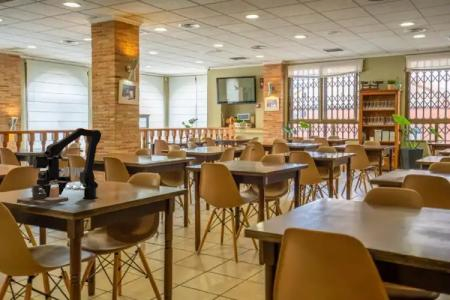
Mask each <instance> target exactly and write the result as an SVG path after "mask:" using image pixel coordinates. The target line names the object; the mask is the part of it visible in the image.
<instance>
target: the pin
mask: <svg viewBox="0 0 450 300" xmlns="http://www.w3.org/2000/svg"><path fill="white" fill-rule="evenodd" d="M30 190H31V193H32V188H31V189H30ZM41 193H43V194H46V193H45V190H44V189H42V188H40V189H39V194H41ZM49 197H51V198H55V197H60V195H59V187H58V186H57V187H51V189H50V196H49Z"/></svg>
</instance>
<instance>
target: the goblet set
mask: <svg viewBox="0 0 450 300" xmlns="http://www.w3.org/2000/svg"><path fill="white" fill-rule="evenodd" d="M59 169H61V171H59V176H69V174H70V175H71V177H72V180H73V185H70V187H71V188H76V187H77V188H86V187H83V185H82V184H81V182H80V181H79V185H80V186H76V185H75V177H76V175H77V177H78V178H79V177H80V172H83V171H84V169H85V166H84V167H83V166H81V167H79V166H77V167H76V166H71V167H69V166H64V167H59ZM56 186H57V187H59V185H58V184H57V185H56ZM65 187H69V185H68V184H66V186H65Z"/></svg>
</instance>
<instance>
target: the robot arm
mask: <svg viewBox="0 0 450 300" xmlns="http://www.w3.org/2000/svg"><path fill="white" fill-rule="evenodd" d="M82 136H83V137H86V142H87V151H86V158H85V163H84V171H83V172H80V177H79V176H78V179H79V183H80V182H81V186H83V187H82V188H84V187H86V188H84V191H83V197H82V199H85V200H93V199H98V198H99V196H97V189H98V187H99V184H98V182H97V181H95V173H94V166H95V165H94V164H95V158H96V152H97V147H98V144H99V143H100V141H101V137H102V132H101V131H100V130H98V129H86V128H83V127H78V128H76V129H75V130H74V131H72V132H71V133H69V134H68V135H66V136H65V137H63V138H61V140H59V141H55V142H53V143H50V144H48V145H47V146H46V150H45V151H44V153H43V154H42V155H34V157H33V161H32V166H33V167H32V168H33V169H34V170H36V169H37V170H38V169H39V170H40V169H45V170H46V171H45V172H43V171H41V172H38V174H37V177H38V178H37V180H36V185H40V186H42V187H43V188H44V190H45V193H46V195H47V197H49V196H50V189H51V188H52V185H51V184H50V183H56V184H57V185H59V186H58V188H59V196H62V194H63V191H64V189H65V188H66V187H67V186H66V185H68V183H69V182H71V177H70V175H68V176H65V175H62V176H59V171H61V169H59V168H60V160H63V159H64V157H62V155H61V152H63V151H64V150H65V148H66V147H67V146H68V145H70V144H71V143H73V142H74V141H76V140H77V139H79V138H80V137H82ZM46 168H47V169H46Z"/></svg>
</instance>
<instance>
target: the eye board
mask: <svg viewBox="0 0 450 300" xmlns="http://www.w3.org/2000/svg"><path fill="white" fill-rule="evenodd" d="M31 187H32V188H31V189H32V192H31V193H32V195H31V196H28V197H23V198H17V199H16V203H21V202H22V204H30V205H36V204H37V205H39V206H45V205H50V204H56V203H62V202H65V201H69V197H66V196H59V197H55V198H51V197H47V195H46V194H43V193H39V189H44V188H43V187H42V186H40V185H37V184H33V185H31ZM37 205H36V206H37Z"/></svg>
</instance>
